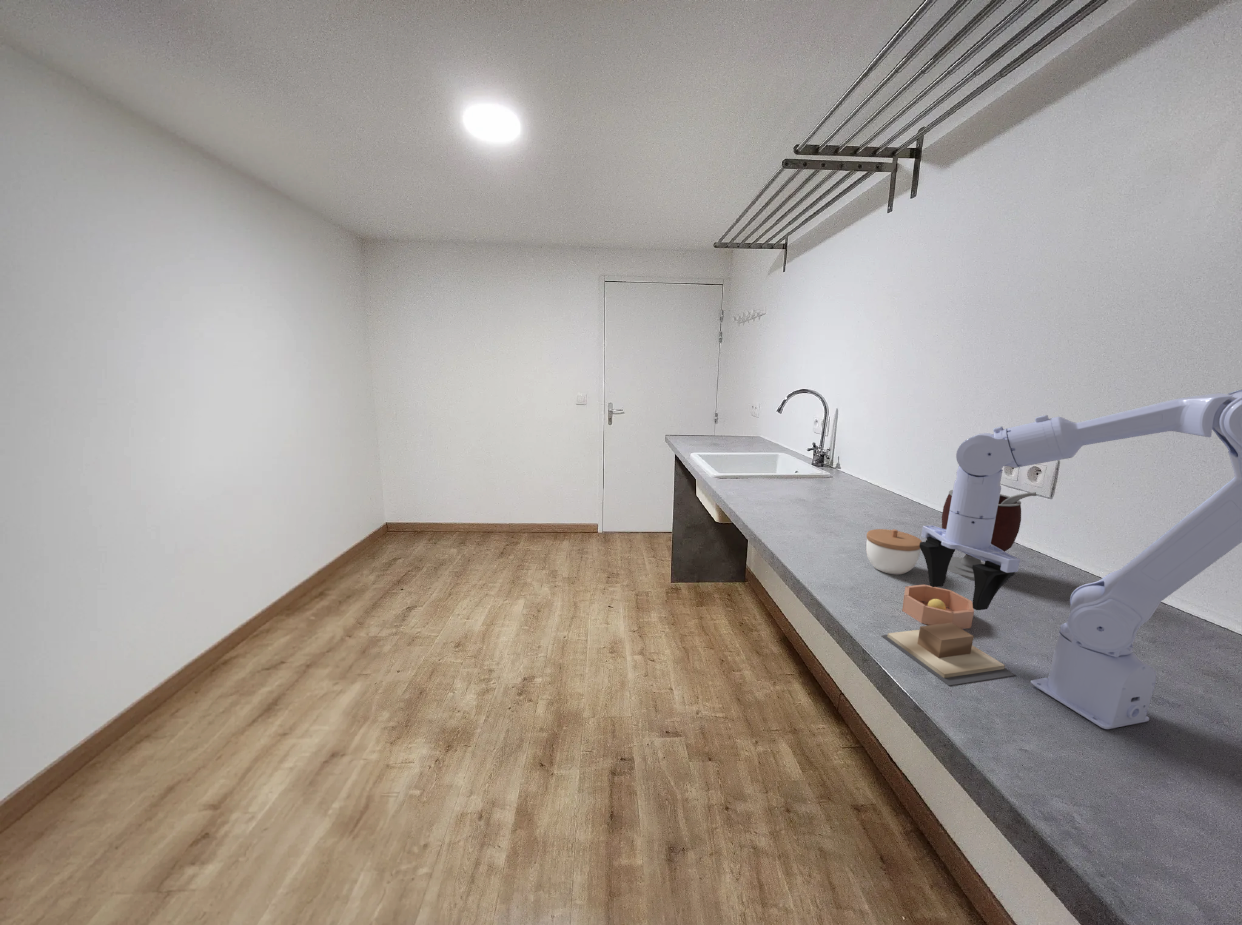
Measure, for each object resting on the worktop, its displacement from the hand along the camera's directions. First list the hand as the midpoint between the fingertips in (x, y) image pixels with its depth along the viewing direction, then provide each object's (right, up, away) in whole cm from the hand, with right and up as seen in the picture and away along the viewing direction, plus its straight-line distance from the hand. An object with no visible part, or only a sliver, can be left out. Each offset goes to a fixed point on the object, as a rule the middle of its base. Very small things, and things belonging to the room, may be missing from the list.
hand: (957, 596), depth 77 cm
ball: (+5, -7, +13) cm, 15 cm away
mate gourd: (+26, -4, +33) cm, 43 cm away
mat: (-2, -9, 0) cm, 10 cm away
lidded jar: (+7, -3, +33) cm, 34 cm away
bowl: (+5, -7, +13) cm, 15 cm away
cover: (-2, -9, +1) cm, 9 cm away
